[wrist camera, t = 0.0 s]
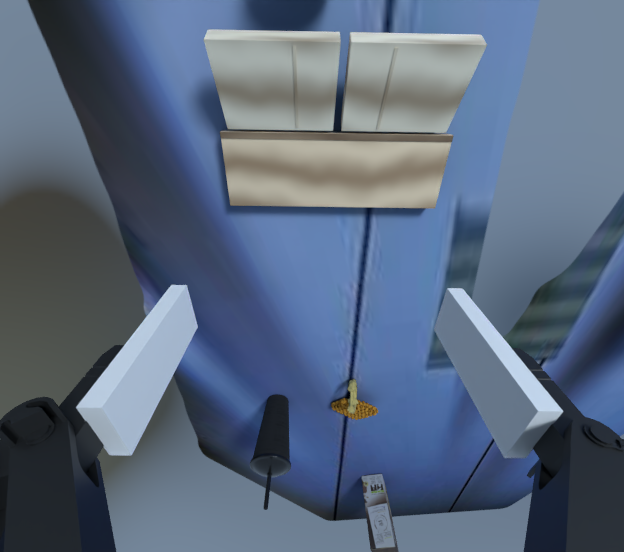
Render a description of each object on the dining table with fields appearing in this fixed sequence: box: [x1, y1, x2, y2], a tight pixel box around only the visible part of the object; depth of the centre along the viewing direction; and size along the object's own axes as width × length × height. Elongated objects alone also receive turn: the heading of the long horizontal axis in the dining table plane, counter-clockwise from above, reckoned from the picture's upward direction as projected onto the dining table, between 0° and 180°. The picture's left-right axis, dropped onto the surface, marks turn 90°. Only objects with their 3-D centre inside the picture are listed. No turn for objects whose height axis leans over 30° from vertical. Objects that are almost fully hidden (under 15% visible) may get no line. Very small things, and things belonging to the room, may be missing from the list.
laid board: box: [220, 130, 453, 208], centre depth 37 cm, size 9×28×2 cm, turn 89°
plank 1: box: [204, 30, 341, 131], centre depth 30 cm, size 9×12×2 cm
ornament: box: [331, 379, 378, 420], centre depth 61 cm, size 7×10×15 cm
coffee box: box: [362, 474, 398, 552], centre depth 78 cm, size 9×6×16 cm
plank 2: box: [341, 32, 487, 133], centre depth 30 cm, size 9×12×2 cm
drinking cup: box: [250, 395, 291, 510], centre depth 55 cm, size 8×8×20 cm
